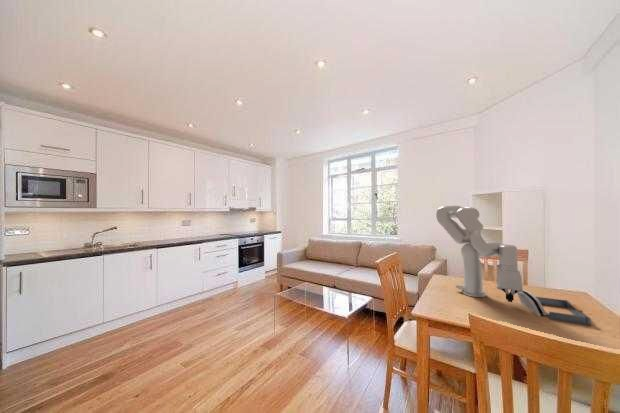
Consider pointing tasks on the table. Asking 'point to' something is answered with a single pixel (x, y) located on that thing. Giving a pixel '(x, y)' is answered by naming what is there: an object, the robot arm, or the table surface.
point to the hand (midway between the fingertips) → (509, 301)
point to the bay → (576, 318)
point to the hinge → (532, 303)
